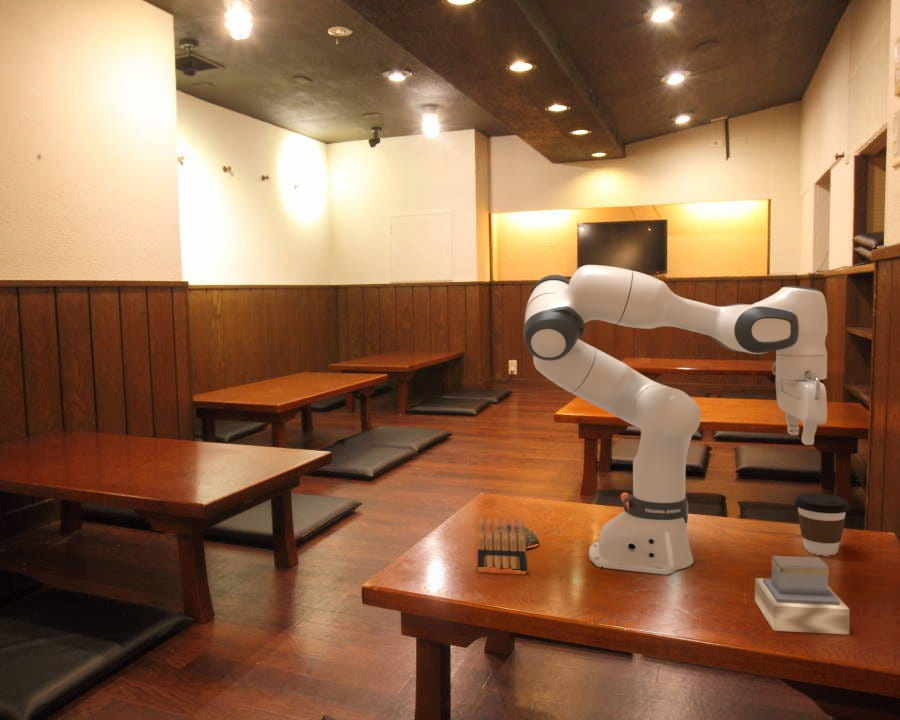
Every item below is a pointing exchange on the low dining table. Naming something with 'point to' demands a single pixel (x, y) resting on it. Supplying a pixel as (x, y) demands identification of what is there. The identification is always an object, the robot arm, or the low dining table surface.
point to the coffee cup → (821, 522)
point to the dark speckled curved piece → (529, 535)
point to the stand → (801, 610)
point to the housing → (800, 575)
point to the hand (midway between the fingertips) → (800, 439)
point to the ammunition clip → (504, 555)
